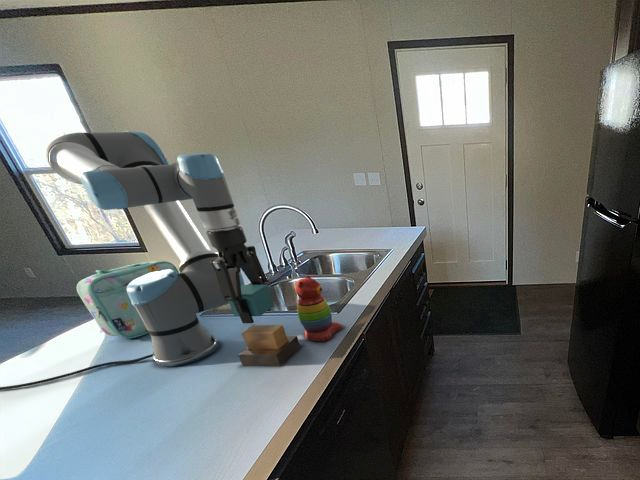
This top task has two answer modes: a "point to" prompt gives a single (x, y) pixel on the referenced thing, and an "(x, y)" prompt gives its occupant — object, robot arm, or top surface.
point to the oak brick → (265, 337)
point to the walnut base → (269, 354)
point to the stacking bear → (314, 311)
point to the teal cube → (255, 299)
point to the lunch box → (117, 298)
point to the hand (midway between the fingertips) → (257, 316)
